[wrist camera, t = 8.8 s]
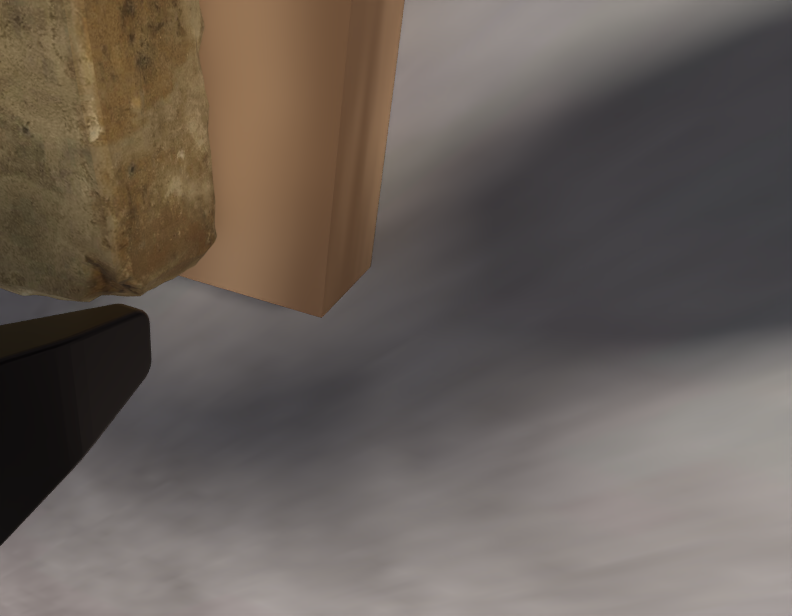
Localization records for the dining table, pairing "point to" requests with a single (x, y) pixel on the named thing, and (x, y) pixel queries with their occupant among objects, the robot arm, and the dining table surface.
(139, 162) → the stone block
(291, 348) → the dining table surface
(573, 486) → the dining table surface
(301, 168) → the plinth
